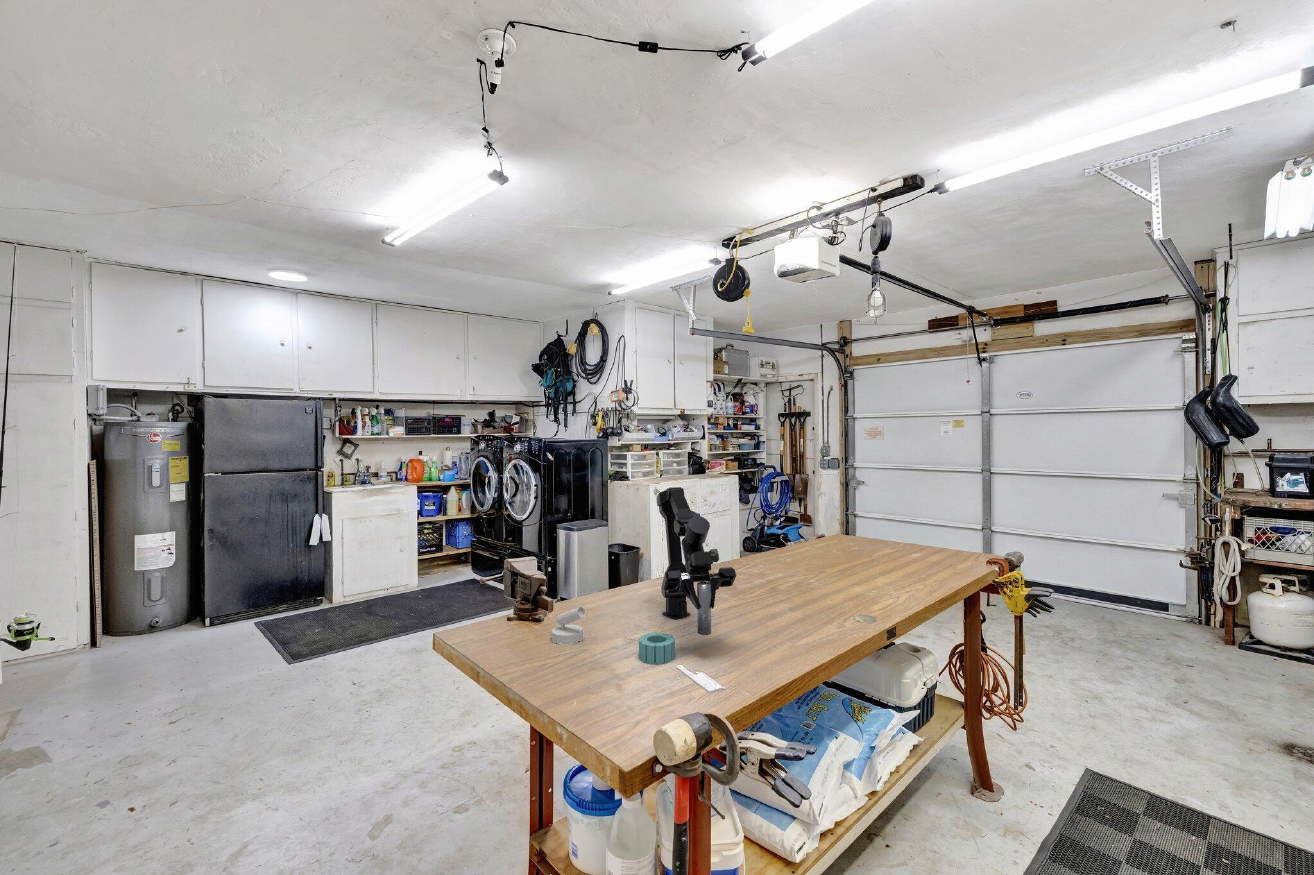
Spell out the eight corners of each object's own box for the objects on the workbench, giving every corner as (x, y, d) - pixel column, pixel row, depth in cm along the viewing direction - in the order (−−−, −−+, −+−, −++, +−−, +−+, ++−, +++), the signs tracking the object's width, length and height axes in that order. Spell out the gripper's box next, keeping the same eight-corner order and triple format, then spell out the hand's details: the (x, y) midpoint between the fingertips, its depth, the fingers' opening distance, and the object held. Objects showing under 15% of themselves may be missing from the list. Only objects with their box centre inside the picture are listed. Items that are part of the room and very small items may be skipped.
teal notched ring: (632, 655, 141) (631, 638, 141) (659, 647, 147) (659, 630, 147) (654, 667, 134) (654, 648, 134) (681, 657, 140) (681, 639, 140)
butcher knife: (693, 665, 136) (693, 661, 136) (728, 690, 123) (728, 685, 123) (675, 669, 134) (675, 664, 134) (708, 695, 120) (708, 690, 120)
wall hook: (573, 612, 147) (544, 606, 152) (573, 647, 147) (545, 640, 152) (592, 603, 154) (565, 598, 159) (593, 637, 154) (565, 631, 159)
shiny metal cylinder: (694, 632, 141) (694, 583, 140) (704, 629, 143) (704, 581, 143) (704, 636, 138) (703, 586, 138) (714, 632, 140) (713, 583, 140)
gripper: (664, 539, 142) (674, 594, 132) (734, 536, 146) (748, 590, 135) (659, 563, 150) (667, 616, 139) (725, 559, 154) (738, 612, 143)
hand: (705, 608), depth 139 cm, fingers closed on shiny metal cylinder, 3 cm apart
